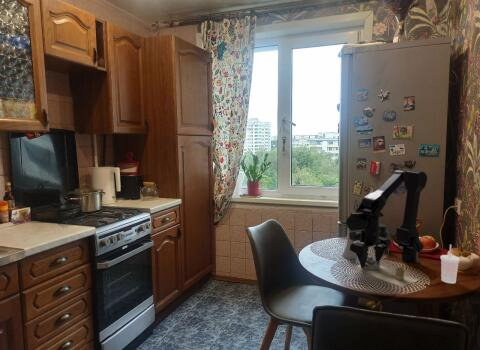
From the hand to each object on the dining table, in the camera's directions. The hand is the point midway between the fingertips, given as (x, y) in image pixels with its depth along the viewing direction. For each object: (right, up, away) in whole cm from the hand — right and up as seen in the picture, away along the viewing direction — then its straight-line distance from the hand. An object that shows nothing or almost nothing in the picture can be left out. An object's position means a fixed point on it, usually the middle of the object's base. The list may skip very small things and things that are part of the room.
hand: (369, 265), depth 136 cm
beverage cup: (+25, -3, -10) cm, 28 cm away
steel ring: (0, -1, 0) cm, 1 cm away
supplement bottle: (+15, 0, +25) cm, 29 cm away
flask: (-4, -1, +14) cm, 14 cm away
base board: (+3, -3, -5) cm, 7 cm away
